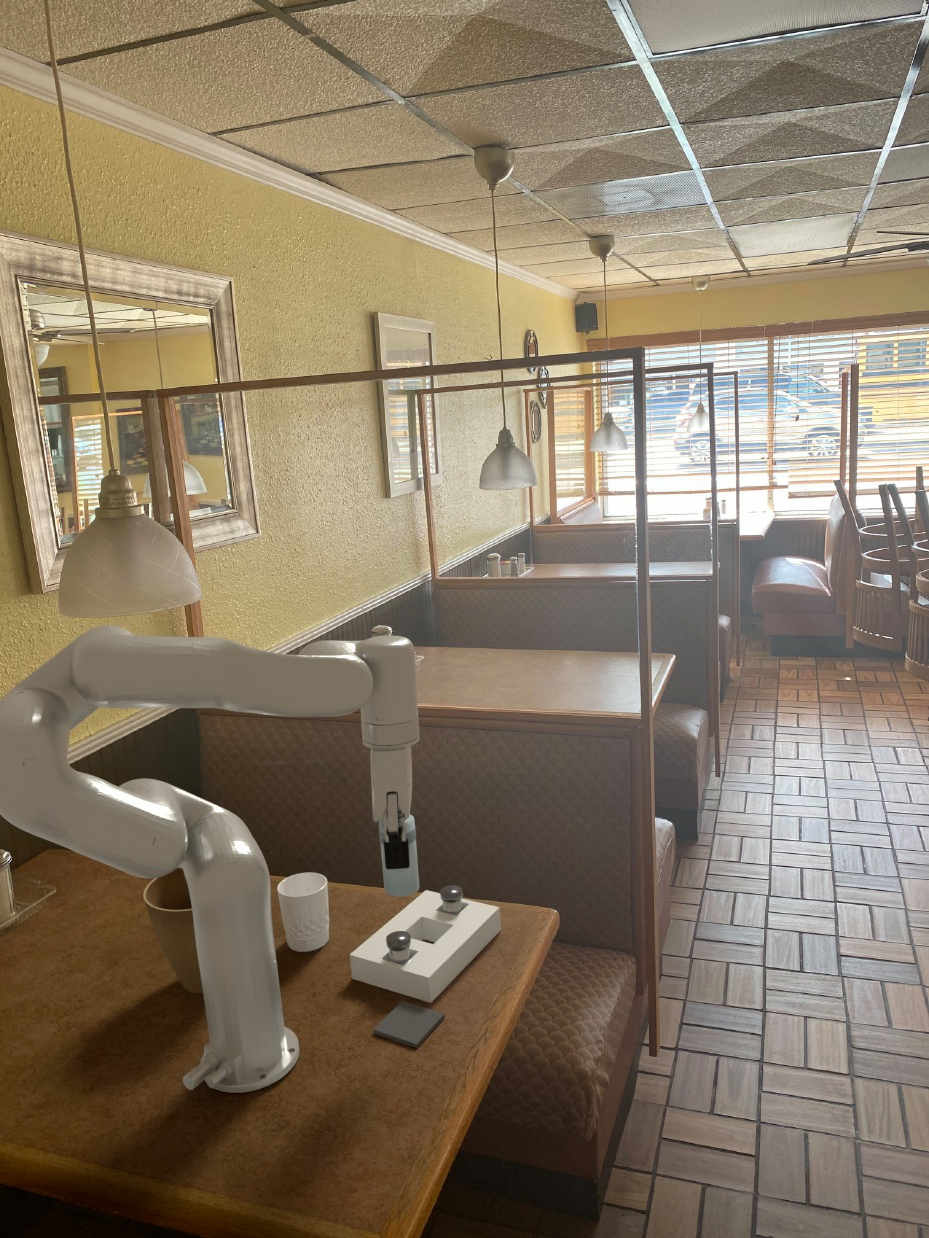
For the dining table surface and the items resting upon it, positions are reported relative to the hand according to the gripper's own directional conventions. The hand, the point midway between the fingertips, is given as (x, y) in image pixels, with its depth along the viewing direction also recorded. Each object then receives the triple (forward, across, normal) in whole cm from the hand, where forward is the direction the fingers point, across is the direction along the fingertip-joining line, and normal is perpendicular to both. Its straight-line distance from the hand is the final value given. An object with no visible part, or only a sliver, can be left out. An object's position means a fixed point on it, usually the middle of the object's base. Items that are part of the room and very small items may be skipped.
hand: (398, 856), depth 125 cm
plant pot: (+24, -11, -30) cm, 40 cm away
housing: (+23, -14, +3) cm, 27 cm away
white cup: (+23, -20, -17) cm, 35 cm away
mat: (+23, +4, 0) cm, 23 cm away
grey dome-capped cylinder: (+22, -7, -1) cm, 23 cm away
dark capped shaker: (+22, -20, +7) cm, 30 cm away
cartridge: (+5, 0, 0) cm, 5 cm away
